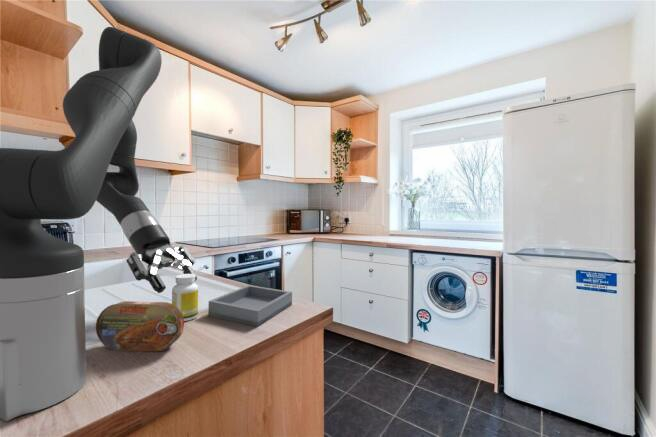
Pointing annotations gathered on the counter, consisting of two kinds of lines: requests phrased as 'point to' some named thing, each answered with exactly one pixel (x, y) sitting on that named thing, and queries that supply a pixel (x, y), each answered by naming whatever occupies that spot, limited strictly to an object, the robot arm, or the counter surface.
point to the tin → (139, 326)
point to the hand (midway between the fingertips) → (179, 285)
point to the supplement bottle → (186, 296)
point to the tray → (250, 305)
